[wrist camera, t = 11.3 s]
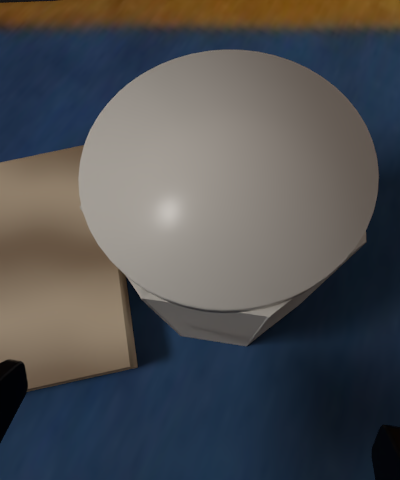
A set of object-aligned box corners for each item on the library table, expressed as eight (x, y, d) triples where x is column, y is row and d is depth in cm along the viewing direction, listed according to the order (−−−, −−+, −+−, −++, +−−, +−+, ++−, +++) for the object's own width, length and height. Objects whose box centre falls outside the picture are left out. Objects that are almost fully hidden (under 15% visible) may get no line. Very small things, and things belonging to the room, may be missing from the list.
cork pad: (137, 367, 17) (130, 366, 15) (-115, 422, 17) (-146, 426, 15) (110, 157, 21) (101, 141, 20) (-91, 198, 21) (-113, 186, 20)
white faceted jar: (305, 206, 19) (376, 58, 10) (296, 356, 17) (382, 333, 8) (164, 190, 20) (116, 42, 11) (134, 330, 17) (39, 283, 8)
